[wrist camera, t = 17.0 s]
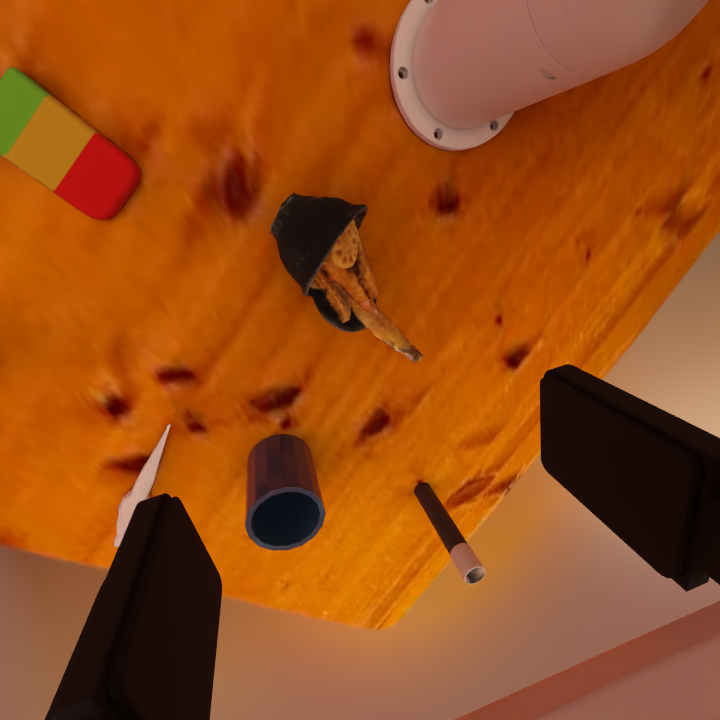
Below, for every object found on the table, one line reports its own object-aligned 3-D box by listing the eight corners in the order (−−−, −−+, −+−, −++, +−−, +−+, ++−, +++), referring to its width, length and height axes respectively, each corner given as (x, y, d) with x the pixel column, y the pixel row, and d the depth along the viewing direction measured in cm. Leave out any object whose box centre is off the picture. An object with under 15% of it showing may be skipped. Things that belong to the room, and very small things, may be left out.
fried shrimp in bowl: (316, 137, 28) (505, 281, 30) (304, 215, 39) (444, 318, 41) (239, 226, 26) (449, 376, 28) (249, 283, 37) (400, 389, 38)
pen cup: (304, 426, 42) (316, 477, 34) (317, 477, 44) (331, 535, 36) (239, 444, 41) (235, 502, 32) (257, 495, 43) (257, 560, 35)
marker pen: (429, 480, 49) (485, 563, 37) (431, 493, 50) (485, 579, 38) (413, 485, 49) (463, 571, 37) (414, 499, 49) (465, 587, 38)
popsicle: (110, 227, 31) (101, 227, 29) (-118, 66, 25) (-146, 55, 23) (149, 171, 30) (143, 169, 29) (-74, -6, 24) (-100, -24, 23)
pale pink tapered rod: (134, 538, 41) (129, 552, 40) (107, 533, 40) (100, 548, 39) (185, 423, 38) (182, 432, 37) (157, 415, 37) (153, 424, 36)
